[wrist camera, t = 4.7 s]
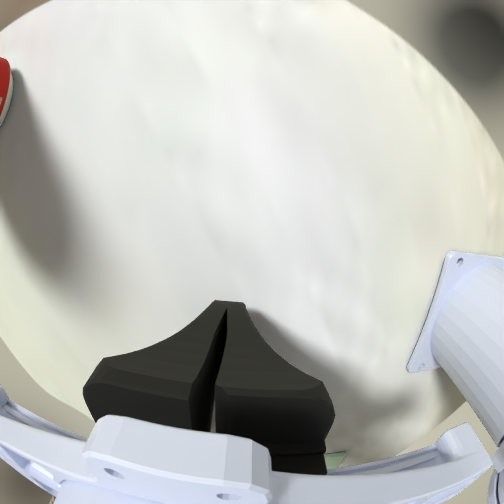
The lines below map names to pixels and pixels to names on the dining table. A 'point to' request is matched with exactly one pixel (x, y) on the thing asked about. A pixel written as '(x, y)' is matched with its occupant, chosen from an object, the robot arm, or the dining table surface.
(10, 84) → the beverage can
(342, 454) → the pad
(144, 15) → the dining table surface
